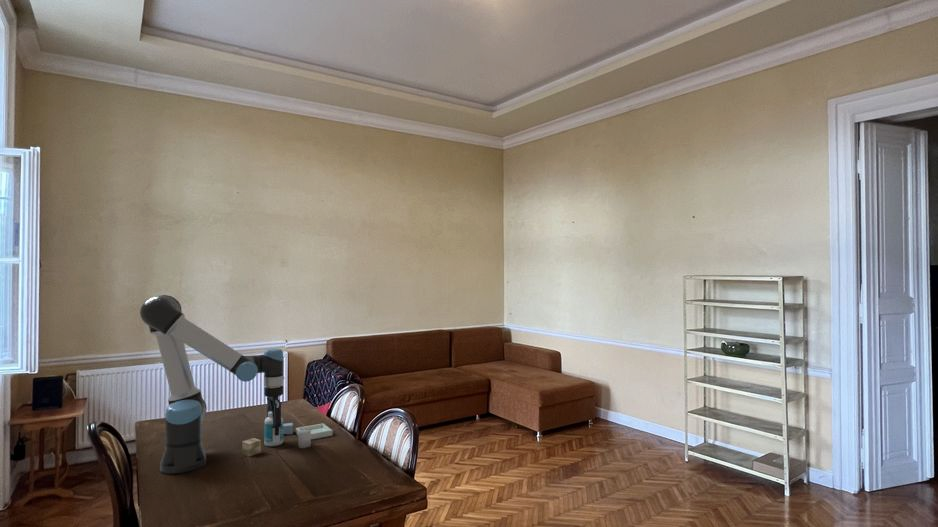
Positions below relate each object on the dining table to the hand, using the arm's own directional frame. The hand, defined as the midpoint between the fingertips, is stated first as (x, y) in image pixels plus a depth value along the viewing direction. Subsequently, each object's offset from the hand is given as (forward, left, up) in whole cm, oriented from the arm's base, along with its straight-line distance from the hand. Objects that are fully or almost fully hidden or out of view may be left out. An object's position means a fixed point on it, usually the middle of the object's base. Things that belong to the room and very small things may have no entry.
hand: (273, 440), depth 215 cm
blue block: (+8, +12, -2) cm, 15 cm away
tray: (+18, +3, -2) cm, 18 cm away
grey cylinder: (+10, -10, -2) cm, 14 cm away
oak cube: (-10, -6, -2) cm, 12 cm away
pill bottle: (0, 0, -2) cm, 2 cm away
